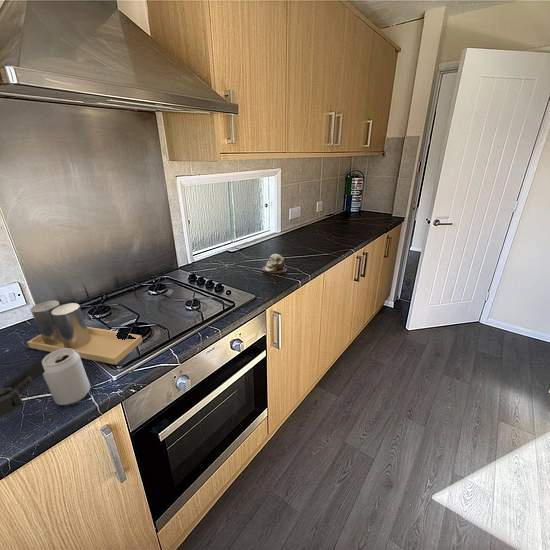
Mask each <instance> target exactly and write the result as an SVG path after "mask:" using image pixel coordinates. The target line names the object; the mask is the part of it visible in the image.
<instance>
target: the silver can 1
mask: <svg viewBox="0 0 550 550" xmlns="http://www.w3.org/2000/svg"><path fill="white" fill-rule="evenodd" d="M59 306H61V304H60V302H59V300H54V299H53V300H46V301H43V302H39V303H37V304H35V305H33V306H32V307H31V308H30V313H31V315H32V317H33V320H34V322H35V324H36V327H37V329H38V332H39V335H40V334H41V337H42V339H43V341H44V344H47V345H57V344H60V343H62V340H61V337H60V335H59V332H58V330H57V327H56V324H55V322H54V319H53V317H52V314H51V312H52V310H53V309H55V308H57V307H59Z"/></svg>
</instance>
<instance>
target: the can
mask: <svg viewBox="0 0 550 550" xmlns="http://www.w3.org/2000/svg"><path fill="white" fill-rule="evenodd" d="M41 363H42V365H43V368H44V370H45V372H44V373H43V374H42V376H43V379H44V381H45V383H46V385H47V387H48V390H49V392H50V395H51V396H52V399H53V401H54V403H55V404H56V405H58V406H59V405H60V406H67V405H71V404H76V403H78V402H79V401H81V400H82V399H84V398H85V397H86V396H87V394H89V392H90V390H91V384H90V381H89V378H88V375H87V373H86V370H85V367H84V363H83V361H82V358H80V356H79V354H78V353H77V352H74V350H73V349H71V348H63V349H59V350H56V351H54V352H49V353H48V354H46V355H45V356H44V358H42V360H41Z"/></svg>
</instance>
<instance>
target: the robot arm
mask: <svg viewBox="0 0 550 550" xmlns="http://www.w3.org/2000/svg"><path fill="white" fill-rule="evenodd" d="M44 372H45V370H44V368H43V365H42V360H41V359H35V360H34V361H33V362H32V363H30V364H29V365H27V367H25V368H24V369H23V370H21V371H20V372H18V373H17V374H16V375H15V376H14V377H12V378H10V379H9V381H7V382H5V384H3V389H0V418H2V417H4V416H5V415H7V414H9V413H10V412H13V411H14V410H16V409H18V408H19V407H21V406H22V405H24V401H23V399H22V397H21V394H22V393H23V392H25V390H27V389H28V388H29V387H30V386H31V385H33V383H34V382H35V381H36V380H37V379H38V378H40V377H41V376H43V373H44Z"/></svg>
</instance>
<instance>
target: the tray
mask: <svg viewBox="0 0 550 550" xmlns="http://www.w3.org/2000/svg"><path fill="white" fill-rule="evenodd" d="M86 327H87V329H88V332H89V335H90V341H89V342H88V343H87V344H86V345H84V346H82V347H80V348H77V349H73V350H74V352H77V353H78V354H79V356H80V358H81V359H85V360H89V361H90V360H91V361H94V362H101V363H104V364H110V365H115V366H117V365H119V364H120V362H121V361H123V360H124V359H126V358H127V357H128V355H129V354H131V353H132V352H134V350H135V349H136V348H137V347H139V346H140V345H141V344H143V337H142V334H141V335H140V334H134V333H129V334H128V335H131V336H132V337H134V338H136V339H125V340H124V339H123V340H122V339H118V338H117V336H116V335H117V333H118V332H119V331H116V330H109V329H104V328H97V327H90V326H86ZM26 343H27V345H28V347H29V348H31V349H35V350H39V351H45V352H49V353H52V352H54V351H56V350H59V349H63V348H64V345H63V343H60V344H57V345H47V344H44V341H43V339H42V337H41V334H40V333H39V335H36V336H35V337H33V338H31V339H30V340H28V341H27V342H26Z"/></svg>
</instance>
